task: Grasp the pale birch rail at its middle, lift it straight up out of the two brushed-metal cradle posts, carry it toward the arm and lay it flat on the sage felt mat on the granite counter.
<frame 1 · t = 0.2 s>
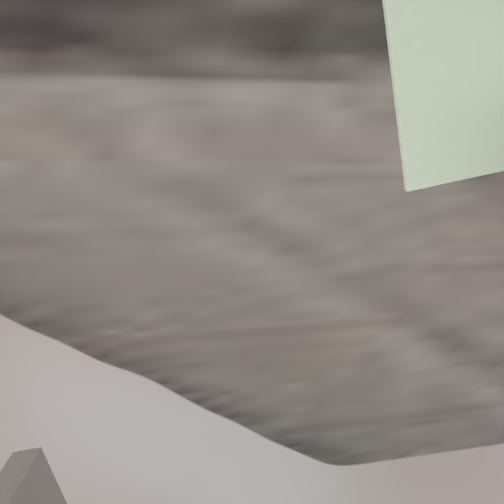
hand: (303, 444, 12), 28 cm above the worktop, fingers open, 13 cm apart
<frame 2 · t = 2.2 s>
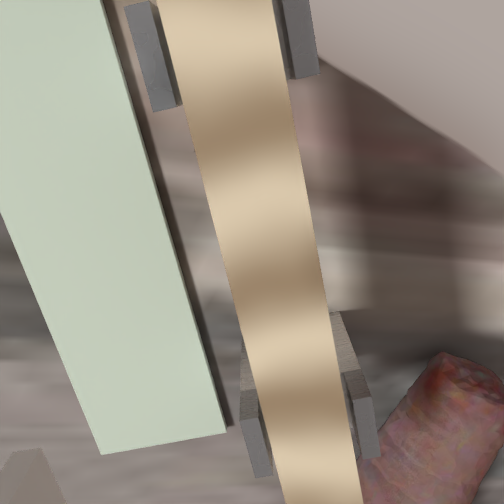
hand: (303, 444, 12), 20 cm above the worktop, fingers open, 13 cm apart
mat: (98, 250, 32), on the worktop
food: (399, 455, 39), on the worktop
rail: (272, 251, 25), point 7 cm above the worktop, touching post 2, post 1
post 1: (295, 345, 35), on the worktop
post 2: (232, 52, 28), on the worktop
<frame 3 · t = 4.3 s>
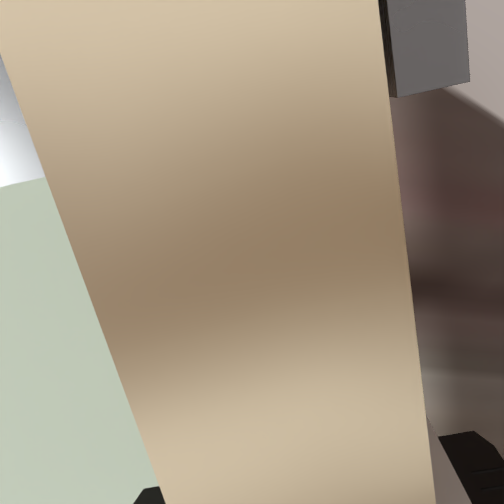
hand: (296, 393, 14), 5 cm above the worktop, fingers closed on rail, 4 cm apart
mat: (6, 370, 19), on the worktop
rail: (304, 447, 12), point 7 cm above the worktop, touching gripper, post 2, post 1
post 2: (226, 39, 15), on the worktop
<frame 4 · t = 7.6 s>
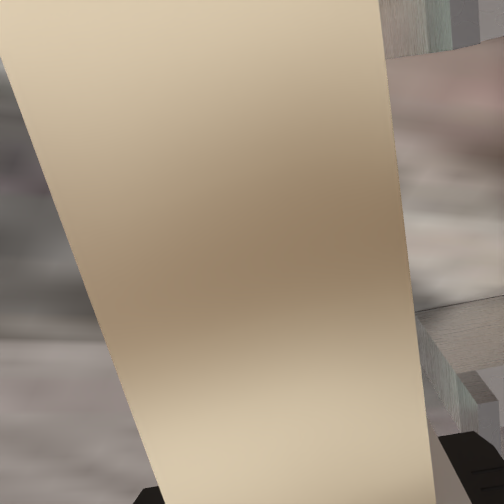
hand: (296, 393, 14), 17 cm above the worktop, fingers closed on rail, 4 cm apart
rail: (304, 449, 12), point 19 cm above the worktop, touching gripper
post 1: (469, 328, 32), on the worktop
post 2: (445, 4, 25), on the worktop
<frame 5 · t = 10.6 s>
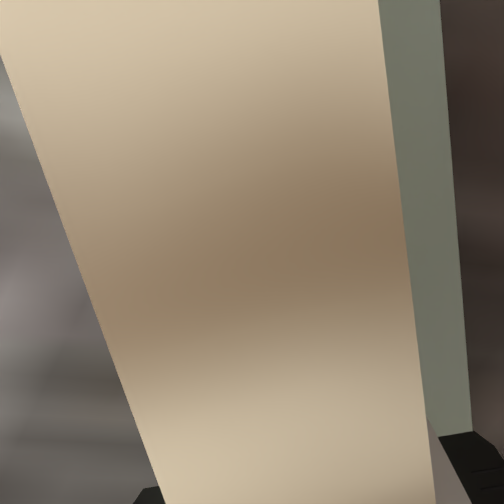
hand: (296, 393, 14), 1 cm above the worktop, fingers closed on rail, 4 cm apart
mat: (295, 376, 15), on the worktop
rail: (304, 448, 12), point 3 cm above the worktop, touching gripper
when the fingers open (1 cm above the worktop, at t = 10.9 s): rail drops 2 cm, resting on mat.
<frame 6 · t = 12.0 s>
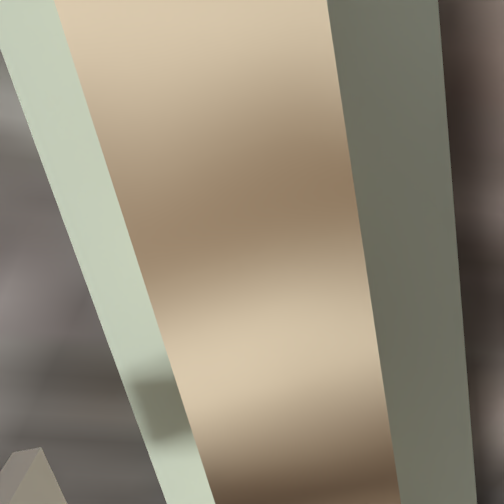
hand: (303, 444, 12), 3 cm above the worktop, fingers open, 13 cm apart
mat: (294, 374, 15), on the worktop
rail: (292, 387, 14), point 1 cm above the worktop, touching mat
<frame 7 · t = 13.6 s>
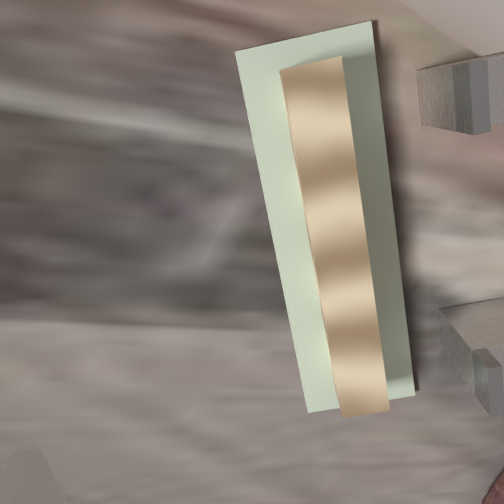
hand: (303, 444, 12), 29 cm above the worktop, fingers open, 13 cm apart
mat: (334, 241, 40), on the worktop
rail: (334, 243, 40), point 1 cm above the worktop, touching mat
post 1: (480, 322, 42), on the worktop
post 2: (465, 88, 36), on the worktop
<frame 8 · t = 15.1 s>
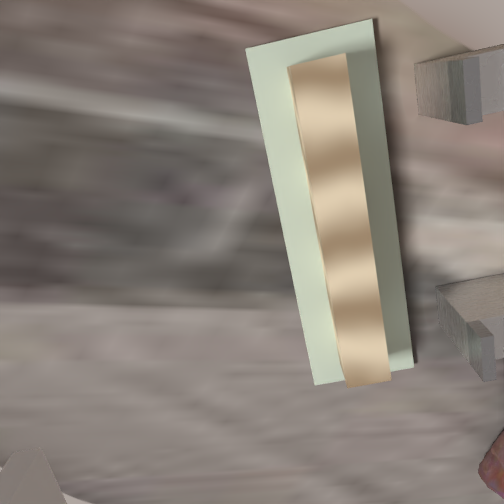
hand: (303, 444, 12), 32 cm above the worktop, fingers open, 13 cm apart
mat: (338, 224, 43), on the worktop
rail: (338, 226, 42), point 1 cm above the worktop, touching mat
post 1: (474, 298, 45), on the worktop
post 2: (459, 80, 39), on the worktop
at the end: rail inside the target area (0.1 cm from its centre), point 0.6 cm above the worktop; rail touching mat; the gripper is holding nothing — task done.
